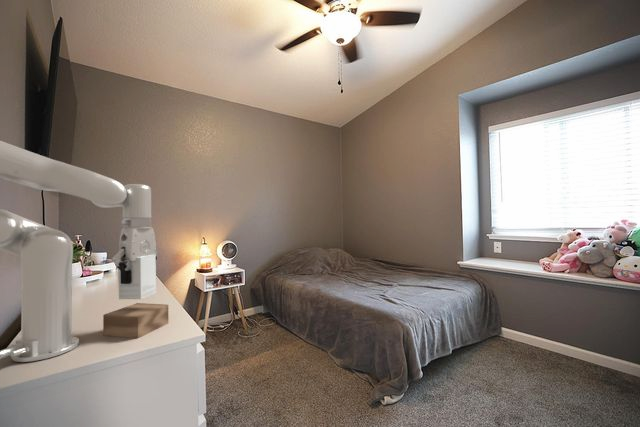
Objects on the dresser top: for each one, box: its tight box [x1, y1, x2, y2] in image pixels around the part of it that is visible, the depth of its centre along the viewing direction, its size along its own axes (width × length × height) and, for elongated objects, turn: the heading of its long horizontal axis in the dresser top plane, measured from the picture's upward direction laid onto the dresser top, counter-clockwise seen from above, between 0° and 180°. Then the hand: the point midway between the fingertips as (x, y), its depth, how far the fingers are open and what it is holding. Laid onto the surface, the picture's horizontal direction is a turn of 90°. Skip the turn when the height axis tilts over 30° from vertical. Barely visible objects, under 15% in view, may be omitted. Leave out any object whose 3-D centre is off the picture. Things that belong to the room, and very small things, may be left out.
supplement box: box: [117, 255, 157, 300], centre depth 89 cm, size 7×7×13 cm
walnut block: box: [102, 302, 169, 339], centre depth 89 cm, size 12×12×6 cm
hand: (137, 280), depth 89 cm, fingers closed on supplement box, 7 cm apart
